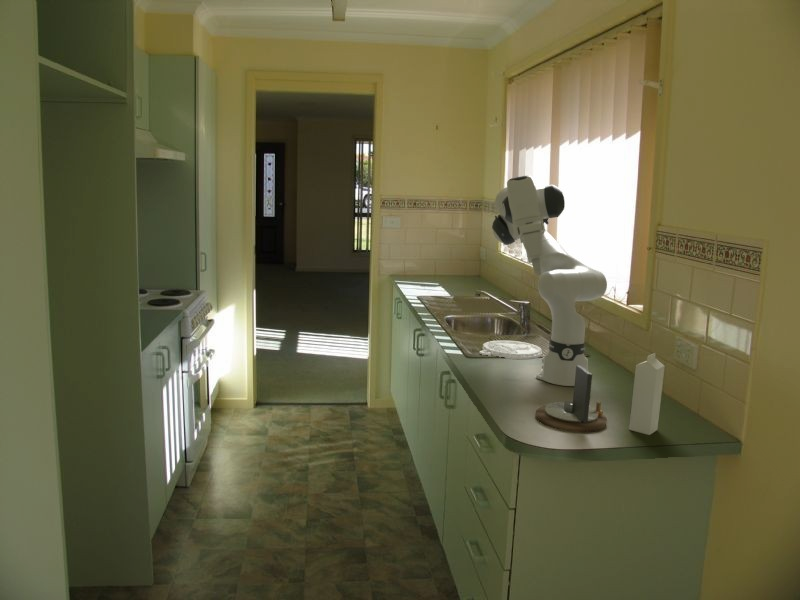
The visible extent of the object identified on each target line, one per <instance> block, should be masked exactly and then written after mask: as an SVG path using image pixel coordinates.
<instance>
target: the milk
mask: <svg viewBox="0 0 800 600" xmlns="http://www.w3.org/2000/svg"><path fill="white" fill-rule="evenodd" d="M665 367H666V366H665V364H663V363H662V362H660V361H659V360H658V359H657V358H656V353H655V352H654V353H652V354H649V355H648V356H647V357H646V360H645V361H642V362H640V363H638V364H636V365H635V373H634V379H633V381H634V382H633V388H632V389H633V390H632V398H631V399H632V400H631V409H630V417H629V425H628V426H629V427H628V429H629V430H630V431H633V432H637V433H640V434H644V435H648V436H651V435H652V434H653V433H655V432H656V431H658V427H659V417H660V410H661V409H660V408H661V401H662V395H663V394H662V392H663V385H664V384H663V382H664V376H665V375H664V374H665V369H666V368H665Z"/></svg>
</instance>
